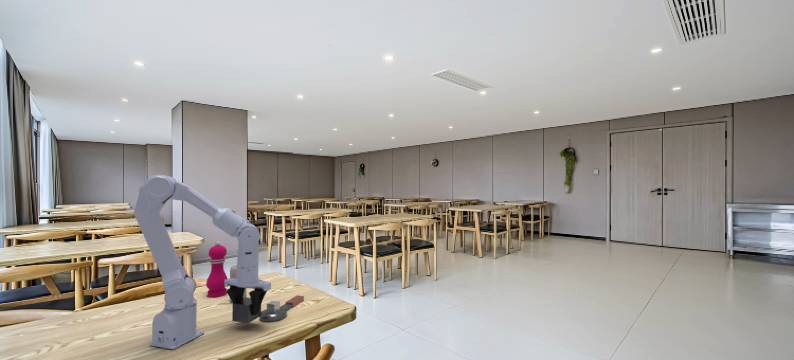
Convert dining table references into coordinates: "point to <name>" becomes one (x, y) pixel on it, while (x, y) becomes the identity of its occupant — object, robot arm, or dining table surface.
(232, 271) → the energy drink
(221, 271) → the pepper mill
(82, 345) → the dining table surface
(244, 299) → the dark grey brushed cube
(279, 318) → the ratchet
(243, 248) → the robot arm
